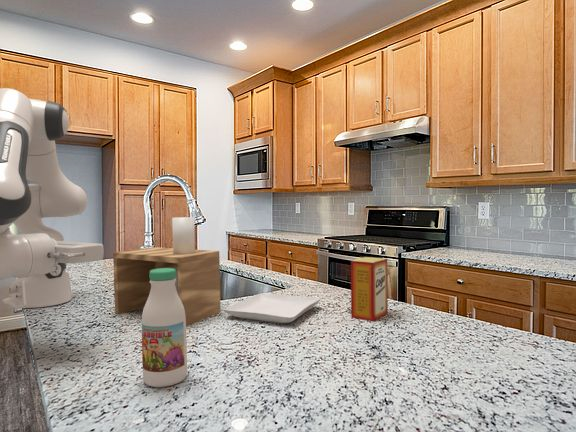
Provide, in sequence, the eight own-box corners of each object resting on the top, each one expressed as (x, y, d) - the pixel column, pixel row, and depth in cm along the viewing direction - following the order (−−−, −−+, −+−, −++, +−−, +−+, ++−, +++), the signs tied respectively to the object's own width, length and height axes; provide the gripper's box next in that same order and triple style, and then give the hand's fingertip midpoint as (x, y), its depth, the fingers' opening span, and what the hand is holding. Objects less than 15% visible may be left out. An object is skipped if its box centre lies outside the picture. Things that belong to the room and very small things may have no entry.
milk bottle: (149, 370, 75) (146, 266, 74) (190, 368, 75) (188, 265, 74) (137, 389, 67) (134, 274, 66) (183, 387, 68) (180, 272, 67)
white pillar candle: (168, 253, 108) (167, 217, 108) (183, 251, 114) (183, 217, 113) (184, 254, 106) (183, 218, 105) (199, 252, 111) (198, 217, 110)
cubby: (115, 313, 114) (113, 252, 113) (155, 302, 127) (153, 247, 126) (183, 327, 101) (181, 257, 100) (220, 312, 114) (219, 251, 113)
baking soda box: (366, 309, 114) (366, 255, 114) (387, 313, 111) (387, 257, 110) (351, 317, 107) (350, 259, 106) (373, 321, 103) (373, 261, 102)
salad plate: (222, 320, 107) (222, 308, 107) (260, 302, 126) (260, 291, 126) (292, 330, 98) (292, 316, 98) (322, 309, 117) (321, 297, 117)
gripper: (64, 241, 77) (124, 235, 89) (10, 237, 87) (70, 233, 99) (65, 273, 77) (125, 263, 89) (11, 265, 87) (71, 257, 99)
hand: (96, 247), depth 94 cm, fingers closed
